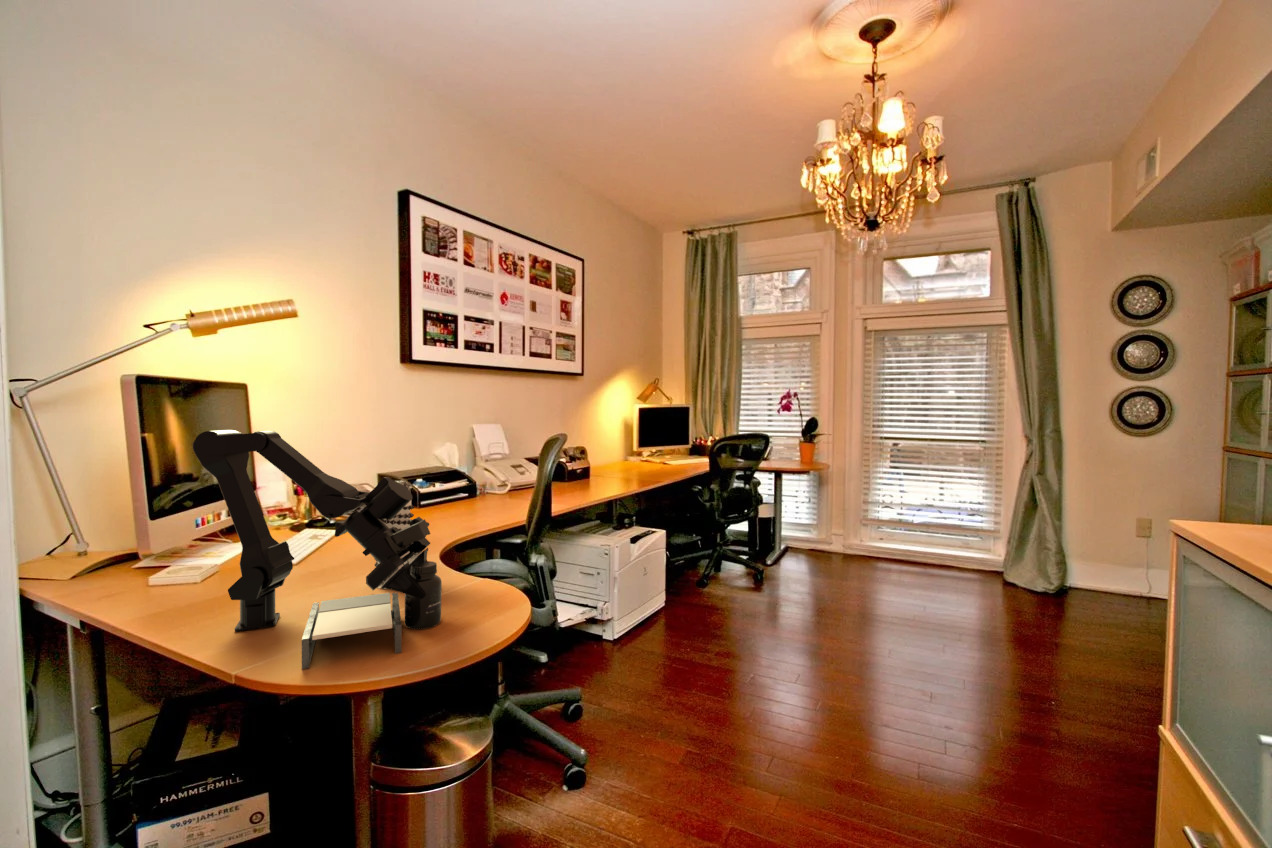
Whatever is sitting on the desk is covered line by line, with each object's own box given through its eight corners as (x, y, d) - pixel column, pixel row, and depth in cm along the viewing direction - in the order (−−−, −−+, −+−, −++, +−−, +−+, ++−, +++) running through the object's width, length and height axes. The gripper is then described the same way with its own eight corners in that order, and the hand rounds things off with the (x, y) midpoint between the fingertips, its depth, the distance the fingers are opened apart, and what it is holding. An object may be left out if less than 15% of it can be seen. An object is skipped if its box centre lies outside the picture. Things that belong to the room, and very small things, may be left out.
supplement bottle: (437, 629, 104) (437, 568, 104) (400, 631, 103) (400, 569, 103) (444, 616, 111) (444, 558, 111) (409, 617, 110) (409, 559, 110)
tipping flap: (321, 616, 104) (321, 601, 104) (389, 607, 109) (389, 592, 109) (312, 652, 88) (312, 634, 88) (392, 640, 94) (392, 623, 94)
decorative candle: (405, 574, 138) (405, 478, 137) (420, 583, 131) (420, 482, 131) (367, 582, 131) (367, 481, 131) (381, 592, 125) (381, 485, 124)
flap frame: (313, 628, 104) (313, 603, 104) (397, 616, 111) (397, 592, 110) (301, 669, 88) (301, 639, 88) (401, 652, 94) (401, 624, 94)
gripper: (383, 517, 97) (444, 577, 98) (420, 499, 116) (472, 550, 116) (339, 559, 97) (400, 620, 98) (383, 535, 116) (435, 586, 116)
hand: (430, 590), depth 107 cm, fingers closed on supplement bottle, 7 cm apart
